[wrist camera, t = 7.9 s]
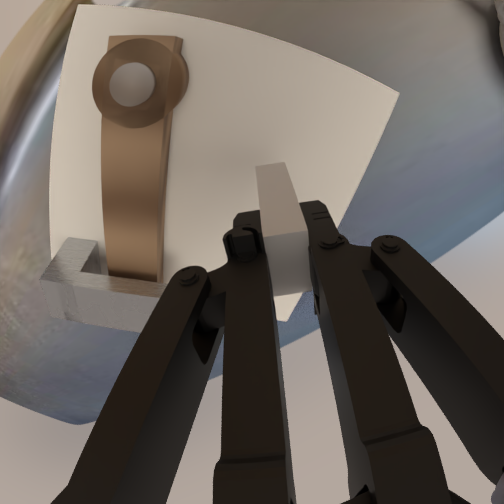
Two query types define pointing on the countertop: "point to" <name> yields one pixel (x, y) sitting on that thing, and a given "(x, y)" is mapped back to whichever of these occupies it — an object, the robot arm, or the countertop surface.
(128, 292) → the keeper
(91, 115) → the base board
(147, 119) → the latch
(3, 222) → the countertop surface
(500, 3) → the teacup
